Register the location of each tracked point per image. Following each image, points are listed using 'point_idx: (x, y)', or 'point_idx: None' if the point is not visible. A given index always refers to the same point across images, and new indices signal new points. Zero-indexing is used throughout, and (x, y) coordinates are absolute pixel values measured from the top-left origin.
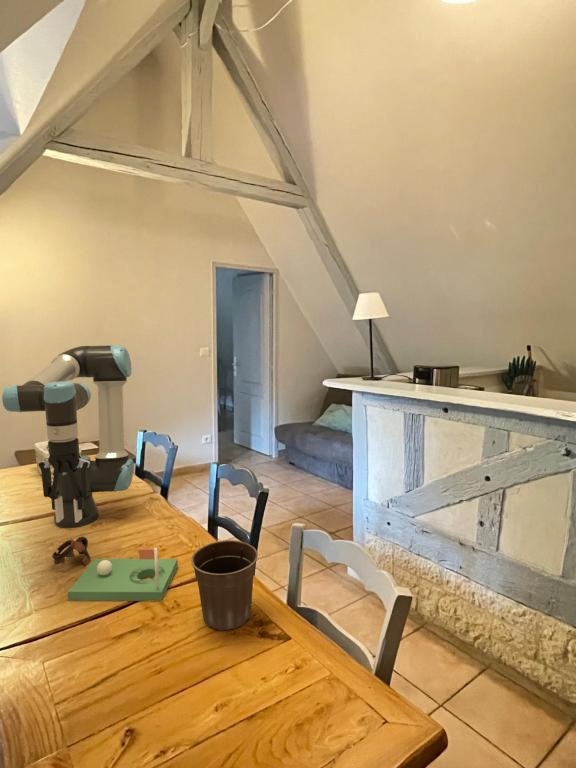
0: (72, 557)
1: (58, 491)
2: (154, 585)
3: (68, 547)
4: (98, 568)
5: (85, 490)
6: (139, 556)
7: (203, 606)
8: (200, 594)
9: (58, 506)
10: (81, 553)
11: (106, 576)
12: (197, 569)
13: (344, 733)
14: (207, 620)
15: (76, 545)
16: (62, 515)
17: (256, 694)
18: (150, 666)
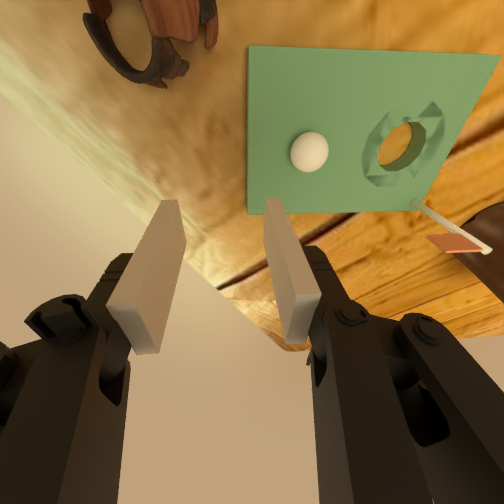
0: (184, 73)
1: (95, 380)
2: (409, 191)
3: (154, 50)
4: (299, 169)
5: (427, 422)
6: (431, 241)
7: (471, 268)
8: (484, 277)
9: (168, 298)
10: None
11: None
12: None
13: (489, 327)
14: (458, 258)
15: (169, 12)
16: (175, 219)
17: (453, 312)
18: (375, 298)
